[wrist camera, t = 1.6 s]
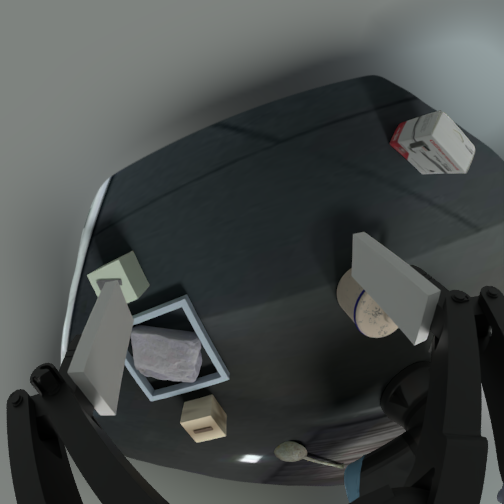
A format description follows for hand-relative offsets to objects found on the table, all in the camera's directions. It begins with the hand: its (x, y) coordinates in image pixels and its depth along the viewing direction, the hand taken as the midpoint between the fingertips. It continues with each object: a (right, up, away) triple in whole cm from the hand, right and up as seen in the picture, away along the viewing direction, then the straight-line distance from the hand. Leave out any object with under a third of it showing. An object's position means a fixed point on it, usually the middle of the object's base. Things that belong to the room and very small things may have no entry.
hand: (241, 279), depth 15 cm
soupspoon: (+15, -47, +39) cm, 63 cm away
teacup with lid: (+19, -4, +30) cm, 36 cm away
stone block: (-14, -16, +31) cm, 37 cm away
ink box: (+27, +19, +25) cm, 42 cm away
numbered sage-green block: (-19, -2, +27) cm, 33 cm away
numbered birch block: (-8, -28, +33) cm, 44 cm away
